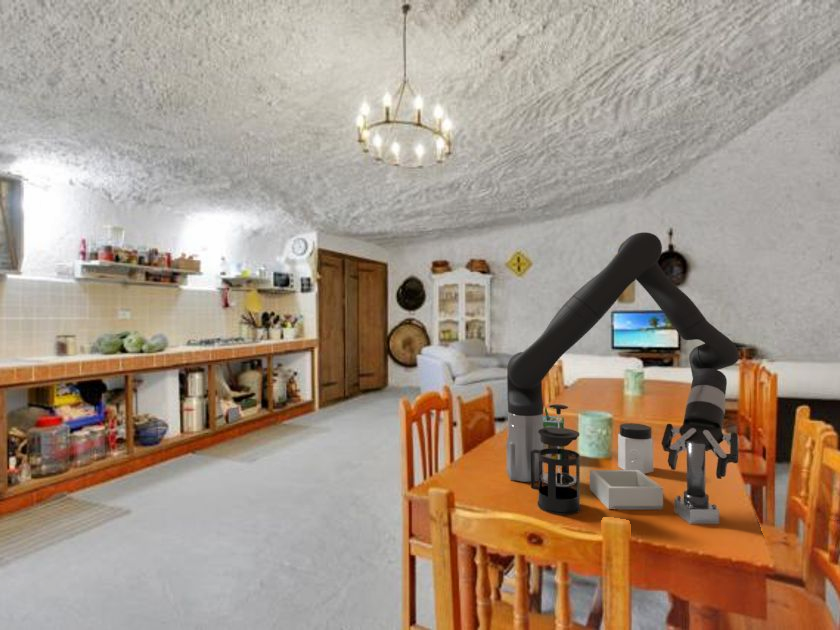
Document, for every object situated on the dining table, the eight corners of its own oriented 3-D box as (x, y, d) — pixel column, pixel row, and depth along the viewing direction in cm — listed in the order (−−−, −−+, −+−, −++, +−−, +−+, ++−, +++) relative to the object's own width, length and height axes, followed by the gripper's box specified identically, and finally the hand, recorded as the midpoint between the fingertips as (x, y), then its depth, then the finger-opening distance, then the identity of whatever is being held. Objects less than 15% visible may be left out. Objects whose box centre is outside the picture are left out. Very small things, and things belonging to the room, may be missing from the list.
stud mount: (689, 523, 96) (689, 505, 96) (674, 511, 102) (674, 494, 102) (719, 523, 96) (719, 505, 96) (701, 511, 102) (701, 494, 102)
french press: (589, 505, 106) (588, 404, 106) (576, 520, 98) (575, 411, 98) (539, 493, 113) (539, 399, 113) (523, 506, 105) (523, 405, 105)
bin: (608, 509, 103) (608, 488, 103) (589, 489, 115) (589, 470, 115) (663, 509, 103) (662, 488, 103) (638, 489, 115) (638, 470, 115)
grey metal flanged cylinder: (691, 508, 97) (691, 445, 97) (679, 499, 102) (679, 439, 101) (713, 508, 97) (713, 445, 97) (700, 499, 101) (700, 439, 101)
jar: (616, 471, 129) (616, 427, 129) (619, 462, 136) (619, 421, 136) (652, 476, 124) (652, 431, 124) (654, 467, 131) (653, 425, 131)
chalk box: (564, 462, 137) (564, 412, 137) (532, 459, 140) (532, 410, 140) (565, 453, 145) (564, 406, 145) (535, 450, 148) (534, 404, 148)
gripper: (667, 396, 110) (655, 456, 101) (740, 403, 100) (733, 470, 92) (673, 415, 114) (661, 474, 105) (743, 423, 104) (737, 489, 96)
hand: (695, 472), depth 98 cm, fingers open, 8 cm apart
